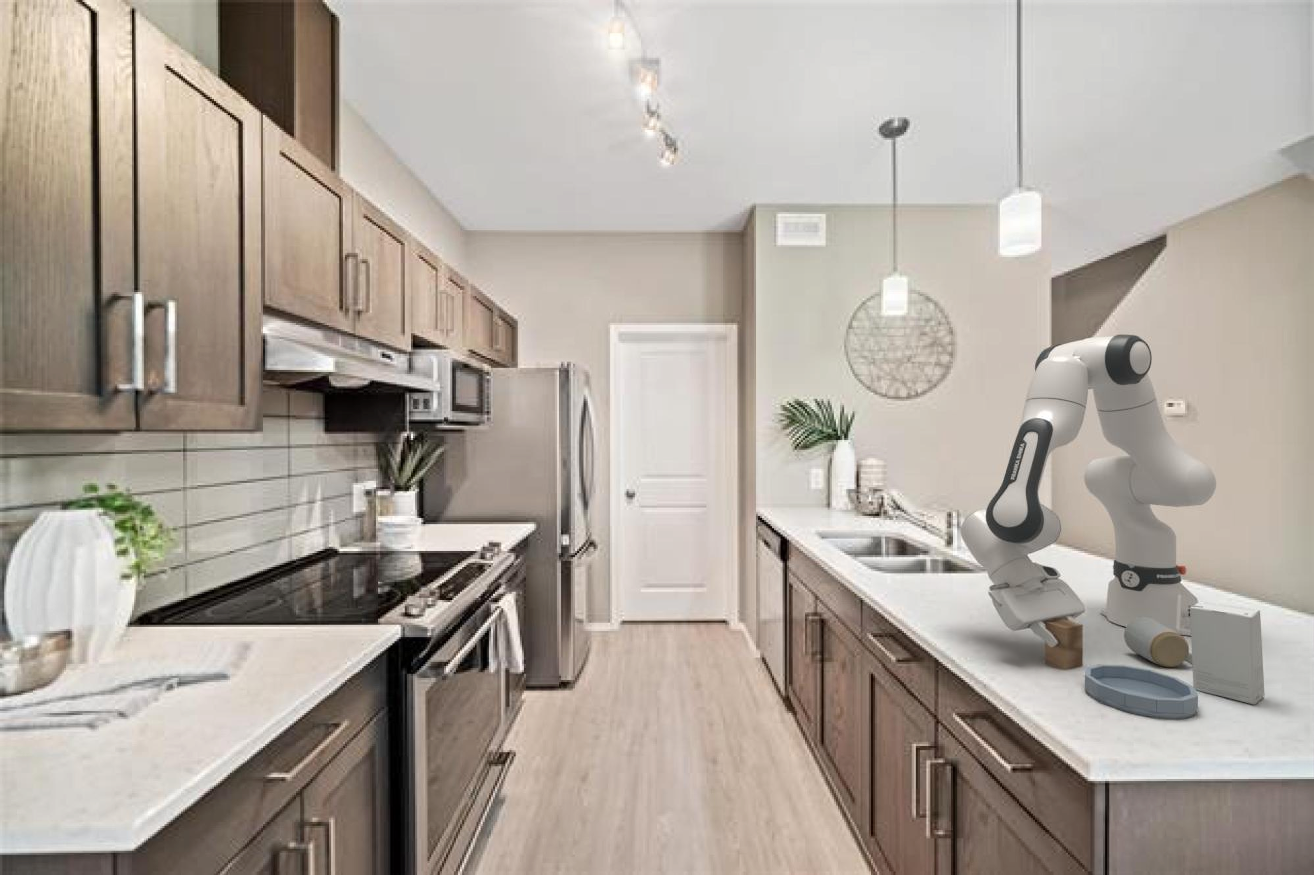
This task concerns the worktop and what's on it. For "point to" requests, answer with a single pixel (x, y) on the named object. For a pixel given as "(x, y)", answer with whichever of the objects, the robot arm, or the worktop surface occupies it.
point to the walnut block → (1065, 645)
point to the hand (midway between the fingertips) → (1067, 642)
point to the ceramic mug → (1157, 642)
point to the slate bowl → (1141, 691)
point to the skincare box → (1227, 651)
